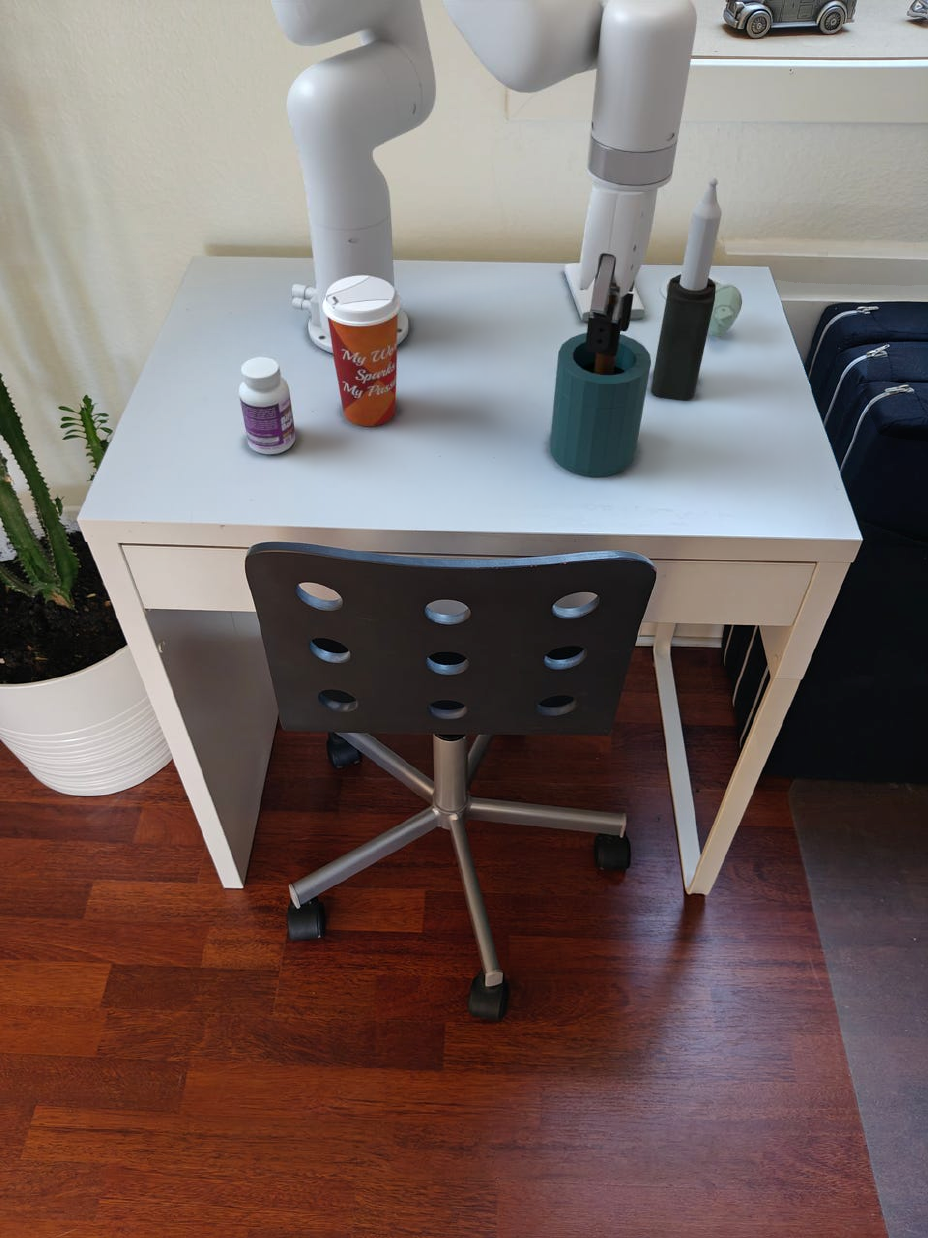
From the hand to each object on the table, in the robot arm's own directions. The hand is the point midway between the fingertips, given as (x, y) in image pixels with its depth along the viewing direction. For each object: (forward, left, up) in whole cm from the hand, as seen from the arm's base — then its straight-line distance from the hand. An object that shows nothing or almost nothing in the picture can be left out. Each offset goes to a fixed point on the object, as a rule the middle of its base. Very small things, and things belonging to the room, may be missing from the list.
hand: (607, 338), depth 101 cm
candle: (+6, +15, -14) cm, 22 cm away
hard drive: (-7, +32, -14) cm, 36 cm away
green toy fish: (+9, +28, -14) cm, 33 cm away
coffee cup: (-26, -2, -14) cm, 30 cm away
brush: (0, 0, -14) cm, 14 cm away
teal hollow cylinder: (0, 0, -14) cm, 14 cm away
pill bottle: (-34, -11, -14) cm, 39 cm away
